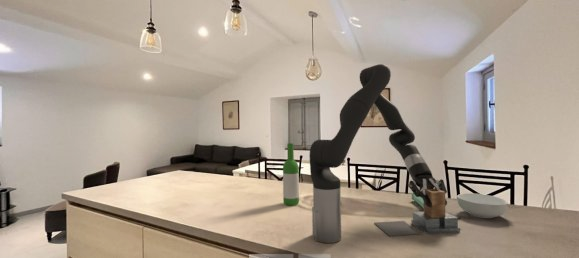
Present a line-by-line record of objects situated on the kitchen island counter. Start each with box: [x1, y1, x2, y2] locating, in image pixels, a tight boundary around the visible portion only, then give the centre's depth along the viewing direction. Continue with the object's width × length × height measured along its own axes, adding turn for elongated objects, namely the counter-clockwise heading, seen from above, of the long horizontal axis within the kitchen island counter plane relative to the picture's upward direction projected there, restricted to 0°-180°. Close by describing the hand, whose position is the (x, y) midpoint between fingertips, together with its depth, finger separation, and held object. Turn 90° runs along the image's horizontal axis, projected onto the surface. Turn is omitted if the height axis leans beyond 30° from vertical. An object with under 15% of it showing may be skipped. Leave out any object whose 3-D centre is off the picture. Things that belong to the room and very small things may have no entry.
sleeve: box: [423, 188, 446, 218], centre depth 94 cm, size 5×5×9 cm
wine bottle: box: [282, 142, 300, 206], centre depth 127 cm, size 8×8×30 cm
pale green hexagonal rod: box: [411, 192, 424, 209], centre depth 116 cm, size 6×6×25 cm
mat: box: [374, 220, 423, 237], centre depth 94 cm, size 12×12×1 cm
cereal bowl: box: [456, 192, 509, 219], centre depth 107 cm, size 17×17×7 cm
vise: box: [410, 211, 462, 235], centre depth 95 cm, size 16×10×12 cm, turn 96°
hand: (437, 205), depth 93 cm, fingers closed on sleeve, 5 cm apart
